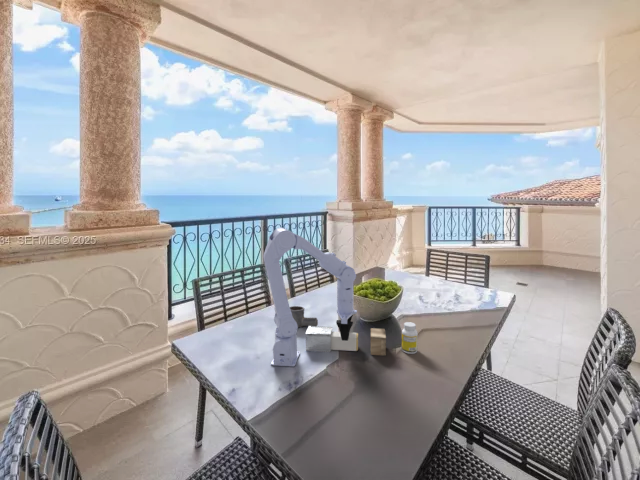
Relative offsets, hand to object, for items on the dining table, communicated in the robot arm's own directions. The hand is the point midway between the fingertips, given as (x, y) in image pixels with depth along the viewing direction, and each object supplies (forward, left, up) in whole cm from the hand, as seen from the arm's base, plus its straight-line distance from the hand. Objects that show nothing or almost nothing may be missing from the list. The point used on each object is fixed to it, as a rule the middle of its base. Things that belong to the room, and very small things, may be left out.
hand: (345, 335), depth 115 cm
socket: (0, -11, -5) cm, 12 cm away
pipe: (+18, +19, -5) cm, 27 cm away
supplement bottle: (+1, -22, -5) cm, 23 cm away
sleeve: (0, +9, -5) cm, 10 cm away
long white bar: (0, +4, -5) cm, 6 cm away
